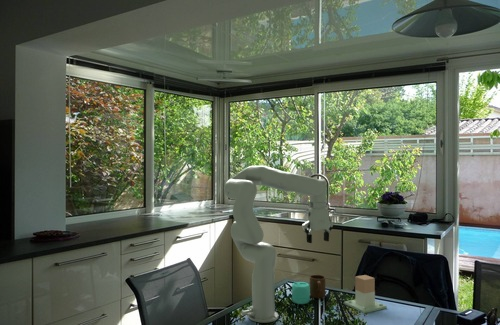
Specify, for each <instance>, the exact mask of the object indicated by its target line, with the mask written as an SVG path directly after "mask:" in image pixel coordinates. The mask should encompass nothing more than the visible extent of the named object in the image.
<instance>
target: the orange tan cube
mask: <svg viewBox="0 0 500 325" xmlns="http://www.w3.org/2000/svg"><path fill="white" fill-rule="evenodd" d="M354 281H355V282H354V283H355V284H354V286H355V287H354V288H355V289H354V291H355V290H357V291H360V292H362V293H364V294H365V293H370V292H375V293H376V290H375V289H376V288H375V285H376V284H375V281H376V280H375V277H372V276H369V275H367V274H364V275H357V276H355V278H354Z"/></svg>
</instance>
